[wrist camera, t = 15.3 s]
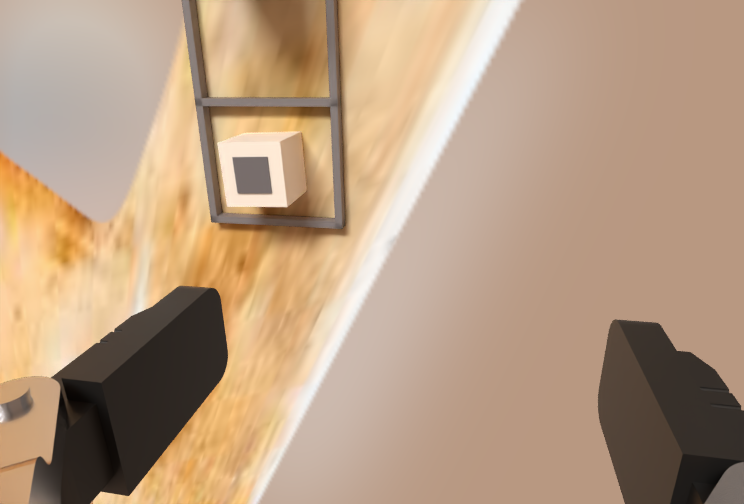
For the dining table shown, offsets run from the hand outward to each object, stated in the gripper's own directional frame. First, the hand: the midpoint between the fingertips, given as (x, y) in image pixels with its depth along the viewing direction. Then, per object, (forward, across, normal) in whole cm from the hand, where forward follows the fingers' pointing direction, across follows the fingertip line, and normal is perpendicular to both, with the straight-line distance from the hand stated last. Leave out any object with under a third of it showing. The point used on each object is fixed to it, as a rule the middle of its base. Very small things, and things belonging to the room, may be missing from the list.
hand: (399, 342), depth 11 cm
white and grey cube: (+32, +15, +3) cm, 36 cm away
